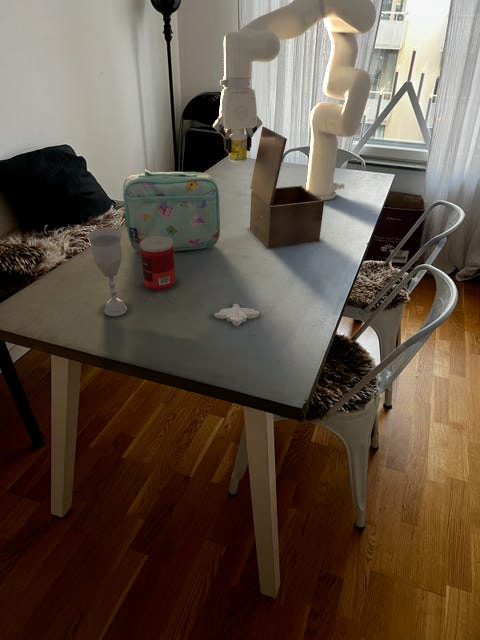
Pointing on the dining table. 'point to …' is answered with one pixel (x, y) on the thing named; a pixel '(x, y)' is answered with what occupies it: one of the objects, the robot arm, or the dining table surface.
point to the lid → (268, 164)
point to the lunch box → (172, 208)
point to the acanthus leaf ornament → (236, 314)
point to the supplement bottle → (238, 146)
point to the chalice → (108, 263)
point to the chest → (287, 217)
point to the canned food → (158, 262)
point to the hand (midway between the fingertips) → (237, 150)
